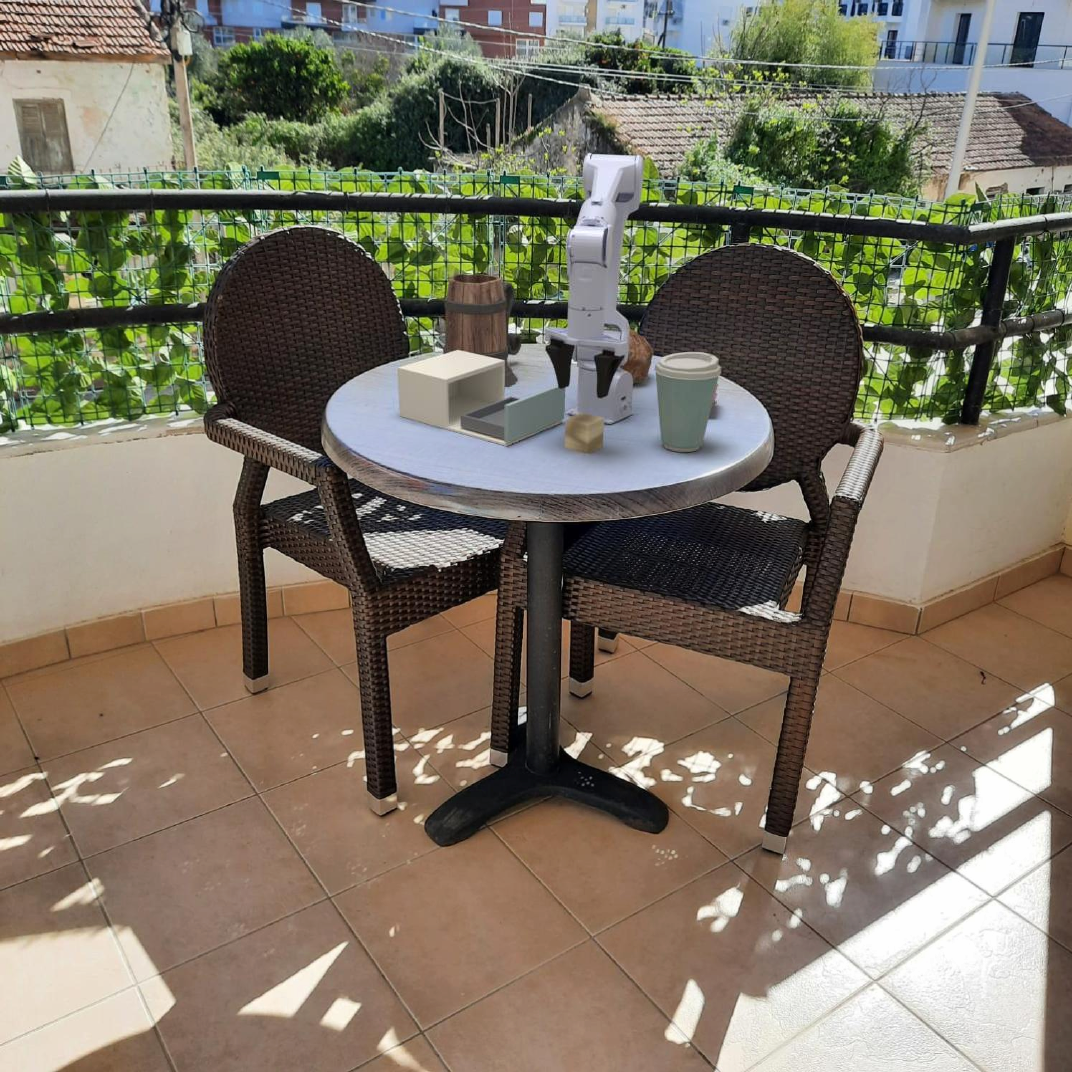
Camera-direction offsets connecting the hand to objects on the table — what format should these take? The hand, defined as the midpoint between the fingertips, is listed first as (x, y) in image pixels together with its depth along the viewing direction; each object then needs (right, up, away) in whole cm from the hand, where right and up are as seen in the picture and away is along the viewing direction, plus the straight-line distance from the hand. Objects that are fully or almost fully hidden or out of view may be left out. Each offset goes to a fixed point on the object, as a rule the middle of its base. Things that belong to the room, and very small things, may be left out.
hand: (582, 391), depth 155 cm
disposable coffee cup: (+17, -8, +6) cm, 19 cm away
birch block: (0, -9, +4) cm, 10 cm away
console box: (-17, -2, +16) cm, 24 cm away
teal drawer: (-12, -4, +13) cm, 18 cm away
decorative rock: (+10, +8, +41) cm, 43 cm away
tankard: (-18, +9, +41) cm, 46 cm away
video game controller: (+23, 0, +23) cm, 32 cm away
